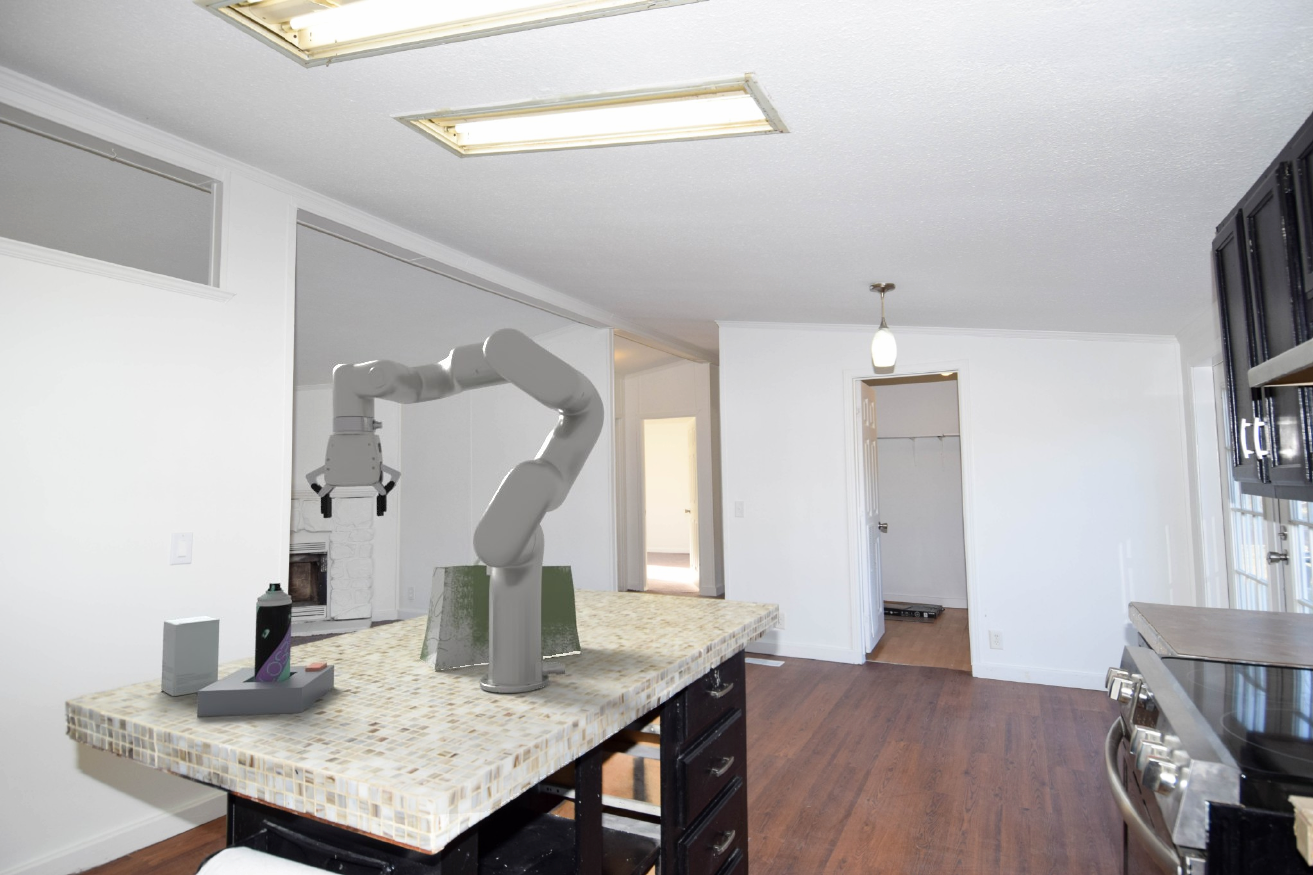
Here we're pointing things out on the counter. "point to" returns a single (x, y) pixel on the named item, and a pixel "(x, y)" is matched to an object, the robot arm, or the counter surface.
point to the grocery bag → (465, 615)
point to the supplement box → (189, 654)
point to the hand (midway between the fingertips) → (354, 516)
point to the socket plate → (266, 692)
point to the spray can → (273, 635)
